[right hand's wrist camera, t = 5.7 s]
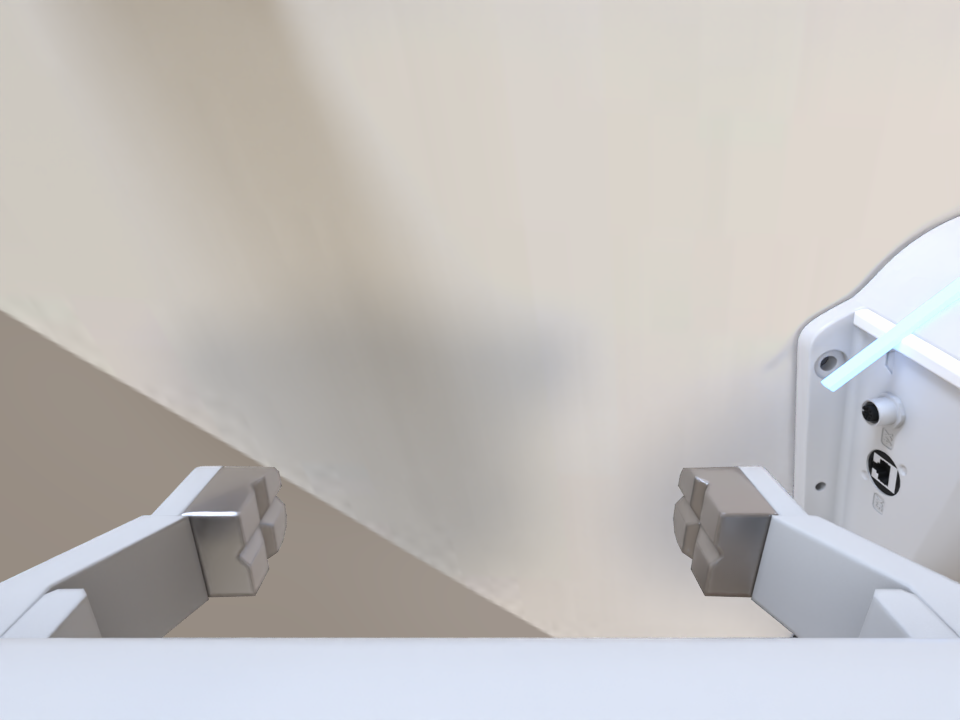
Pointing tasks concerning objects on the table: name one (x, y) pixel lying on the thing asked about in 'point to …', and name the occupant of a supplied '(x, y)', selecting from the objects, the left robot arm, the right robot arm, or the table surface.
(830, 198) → the table surface
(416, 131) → the table surface
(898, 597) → the right robot arm
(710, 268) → the table surface
